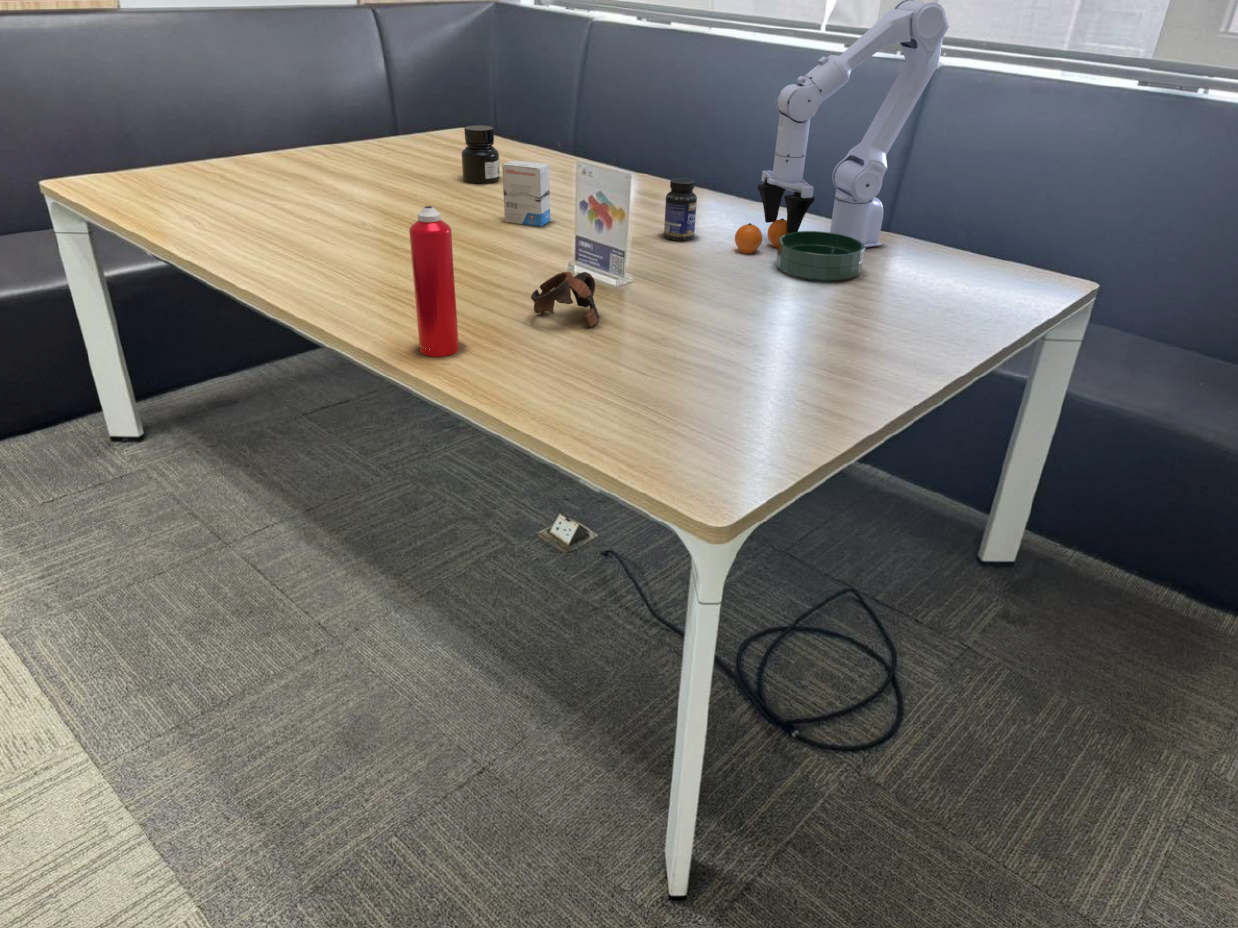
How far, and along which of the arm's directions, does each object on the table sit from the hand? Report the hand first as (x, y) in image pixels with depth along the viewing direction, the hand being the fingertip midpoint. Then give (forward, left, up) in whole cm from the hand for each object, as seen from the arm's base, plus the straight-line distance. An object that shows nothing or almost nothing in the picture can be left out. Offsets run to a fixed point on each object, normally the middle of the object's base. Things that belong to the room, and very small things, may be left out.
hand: (781, 227), depth 174 cm
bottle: (+75, +27, -4) cm, 80 cm away
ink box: (+41, -32, -4) cm, 52 cm away
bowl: (+1, +15, -4) cm, 16 cm away
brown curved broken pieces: (+53, +22, -4) cm, 57 cm away
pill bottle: (+16, -12, -4) cm, 20 cm away
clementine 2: (0, 0, -4) cm, 4 cm away
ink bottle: (+39, -71, -4) cm, 81 cm away
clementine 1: (+8, +1, -4) cm, 9 cm away
